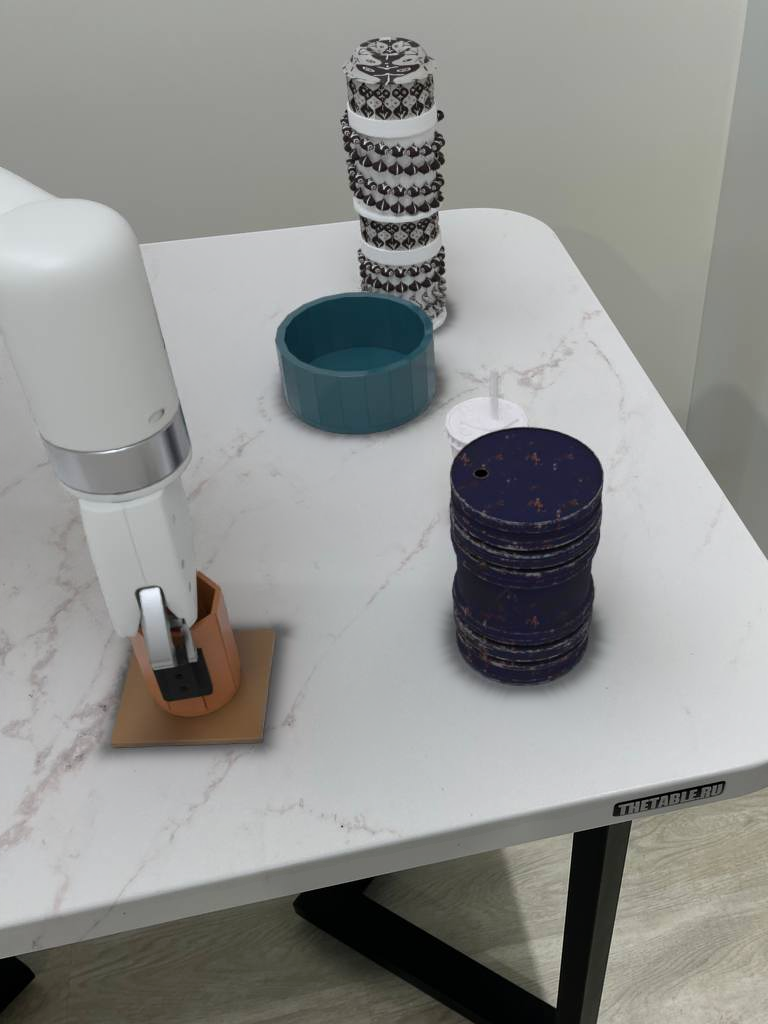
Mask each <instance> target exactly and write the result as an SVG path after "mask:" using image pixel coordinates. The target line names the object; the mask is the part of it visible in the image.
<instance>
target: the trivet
mask: <svg viewBox="0 0 768 1024" xmlns="http://www.w3.org/2000/svg"><path fill="white" fill-rule="evenodd" d="M232 632H233V636H234V639H235V643H236V647H237V651H238V655H239V658H240V662H241V667H240V674H241V682H240V686H239V688H238V691H237V692H236V694H235V695H234V697H233V698H232V699H231V700H230V701H229V702H228V703H227V704H225V705H224V706H223V707H221V708H220V709H218V710H216V711H214V712H211V713H209V714H205V715H201V716H194V717H184V716H178V715H174V714H172V713H169V712H167V711H166V710H164V709H163V708H162V707H161V706H160V705H159V704H158V703H157V701H156V699H155V698H154V697H153V696H152V695H151V694H150V692H149V689H148V687H147V684H146V681H145V679H144V676H143V673H142V670H141V668H140V665H139V662H138V660H137V657H136V654H135V652H134V649H133V650H132V654H131V658H130V662H129V666H128V670H127V673H126V678H125V682H124V686H123V690H122V695H121V697H120V698H121V699H120V701H119V706H118V710H117V714H116V718H115V722H114V726H113V730H112V734H111V737H110V738H111V739H110V742H109V743H110V744H109V745H110V747H111V748H112V749H113V748H114V749H115V748H140V747H142V748H143V747H145V748H146V747H168V746H169V747H171V746H196V745H197V746H199V745H201V746H203V745H226V744H255V743H262V742H263V736H264V730H265V729H264V728H265V722H266V714H267V713H266V712H267V706H268V705H267V704H268V698H269V691H270V690H269V689H270V681H271V674H272V668H273V659H274V653H275V652H274V651H275V644H276V635H277V632H276V628H270V629H269V628H267V629H242V630H241V629H239V630H238V629H237V630H232Z"/></svg>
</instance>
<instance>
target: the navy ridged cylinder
mask: <svg viewBox="0 0 768 1024" xmlns="http://www.w3.org/2000/svg"><path fill="white" fill-rule="evenodd" d="M452 460H453V459H452ZM449 470H450V471H449V484H450V499H449V504H448V505H449V507H448V508H449V523H450V527H449V535H450V537H449V538H450V541H451V546H452V548H453V551H454V554H455V557H456V570H455V573H454V575H453V581H452V586H451V594H452V595H451V596H452V606H453V607H452V610H453V619H454V623H455V639H456V646H457V648H458V652H459V653H460V655H461V657H462V659H463V660H464V661H465V662H466V664H467V665H468V666H469V667H470V668H472V669H473V671H475V672H476V673H478V674H480V675H481V676H483V677H485V678H487V679H489V680H492V681H494V682H497V683H501V684H505V685H511V686H536V685H541V684H547V683H549V682H553V681H554V680H557V679H559V678H561V677H564V676H565V675H567V674H568V673H569V672H571V671H572V670H573V669H574V668H575V667H576V666H577V665H578V664H579V663H580V662H581V660H582V659H583V657H584V656H585V653H586V651H587V647H588V642H589V629H590V626H591V622H592V619H593V612H594V611H593V609H594V601H595V597H596V592H595V591H596V588H595V582H594V577H593V576H594V575H593V574H592V567H593V559H594V558H595V555H596V553H597V551H598V547H599V544H600V540H601V526H602V520H603V502H602V501H603V490H604V481H605V479H604V478H605V474H604V473H605V472H604V468H603V464H602V462H601V461H600V458H599V457H598V456H597V454H596V453H595V451H594V450H592V448H590V447H589V446H588V445H587V444H586V443H584V442H582V441H581V440H580V439H578V438H576V437H573V436H572V435H569V434H567V433H564V432H561V431H559V430H554V429H550V428H546V427H537V426H529V427H513V428H506V429H500V430H497V431H493V432H490V433H487V434H484V435H482V436H480V437H478V438H476V439H474V440H472V441H471V442H469V443H468V444H467V445H465V446H464V447H463V448H462V449H461V450H460V451H459V452H458V454H457V455H456V457H455V458H454V460H453V461H452V462H451V465H450V469H449Z"/></svg>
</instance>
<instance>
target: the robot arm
mask: <svg viewBox="0 0 768 1024" xmlns="http://www.w3.org/2000/svg"><path fill="white" fill-rule="evenodd" d="M140 247H141V246H140V243H139V240H138V238H137V236H136V233H135V231H134V230H133V228H132V227H131V225H130V224H129V222H128V221H127V219H126V218H125V217H124V216H122V215H121V214H119V213H118V212H117V211H116V210H115V209H113V208H111V207H110V206H107V205H105V204H103V203H100V202H97V201H94V200H89V199H83V198H60V197H58V196H55V195H54V194H51V193H49V192H47V191H46V190H44V189H43V188H40V187H39V186H37V185H35V184H33V183H32V182H30V181H28V180H27V179H25V178H23V177H21V176H20V175H18V174H16V173H14V172H12V171H10V170H9V169H6V168H4V167H2V166H0V337H1V339H2V342H3V344H4V347H5V349H6V352H7V354H8V357H9V359H10V363H11V365H12V367H13V370H14V372H15V376H16V377H17V380H18V383H19V386H20V388H21V391H22V393H23V396H24V399H25V401H26V404H27V406H28V409H29V411H30V414H31V416H32V419H33V422H34V424H35V426H36V429H37V431H38V434H39V437H40V440H41V442H42V445H43V447H44V450H45V452H46V455H47V457H48V460H49V462H50V463H49V464H50V466H51V468H52V470H53V473H54V476H55V478H56V481H57V483H58V484H59V486H60V487H61V488H62V489H63V490H64V491H65V492H67V493H68V494H70V495H71V496H74V497H75V498H77V501H78V508H79V513H80V518H81V522H82V527H83V531H84V535H85V538H86V542H87V546H88V549H89V553H90V556H91V561H92V563H93V567H94V570H95V573H96V576H97V580H98V582H99V585H100V588H101V592H102V594H103V598H104V601H105V604H106V607H107V610H108V614H109V617H110V619H111V623H112V625H113V628H114V631H115V633H116V634H117V635H118V636H119V637H121V638H122V639H128V638H129V637H136V635H137V632H138V627H139V623H141V628H142V631H143V635H144V639H145V643H146V647H147V651H148V655H149V659H150V664H151V667H152V670H153V672H154V675H155V678H156V681H157V683H158V686H159V689H160V692H161V694H162V697H163V699H164V700H165V701H167V702H171V701H177V700H183V699H189V698H195V697H201V696H207V695H211V694H212V693H213V684H212V680H211V677H210V674H209V671H208V667H207V664H206V661H205V657H204V654H203V651H202V648H196V644H195V640H194V635H193V631H192V627H191V626H192V625H193V624H194V623H195V621H196V620H197V580H196V570H197V560H196V545H195V535H194V527H193V521H192V516H191V510H190V505H189V502H188V498H187V494H186V489H185V485H184V483H183V479H182V475H183V474H184V473H185V471H186V470H187V469H188V466H189V465H190V463H191V460H192V457H193V446H192V445H193V444H192V441H191V438H190V434H189V431H188V426H187V422H186V418H185V416H184V412H183V407H182V404H181V400H180V397H179V392H178V388H177V385H176V381H175V376H174V373H173V370H172V365H171V362H170V357H169V354H168V350H167V346H166V343H165V338H164V335H163V332H162V328H161V324H160V320H159V316H158V311H157V308H156V305H155V301H154V296H153V293H152V289H151V285H150V281H149V278H148V274H147V270H146V266H145V262H144V258H143V254H142V251H141V248H140ZM166 607H168V608H169V610H170V611H171V612H172V613H170V614H167V608H166ZM179 627H180V629H181V633H182V638H183V642H184V644H183V645H177V646H174V645H173V642H172V637H171V631H170V629H173V628H179Z"/></svg>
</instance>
